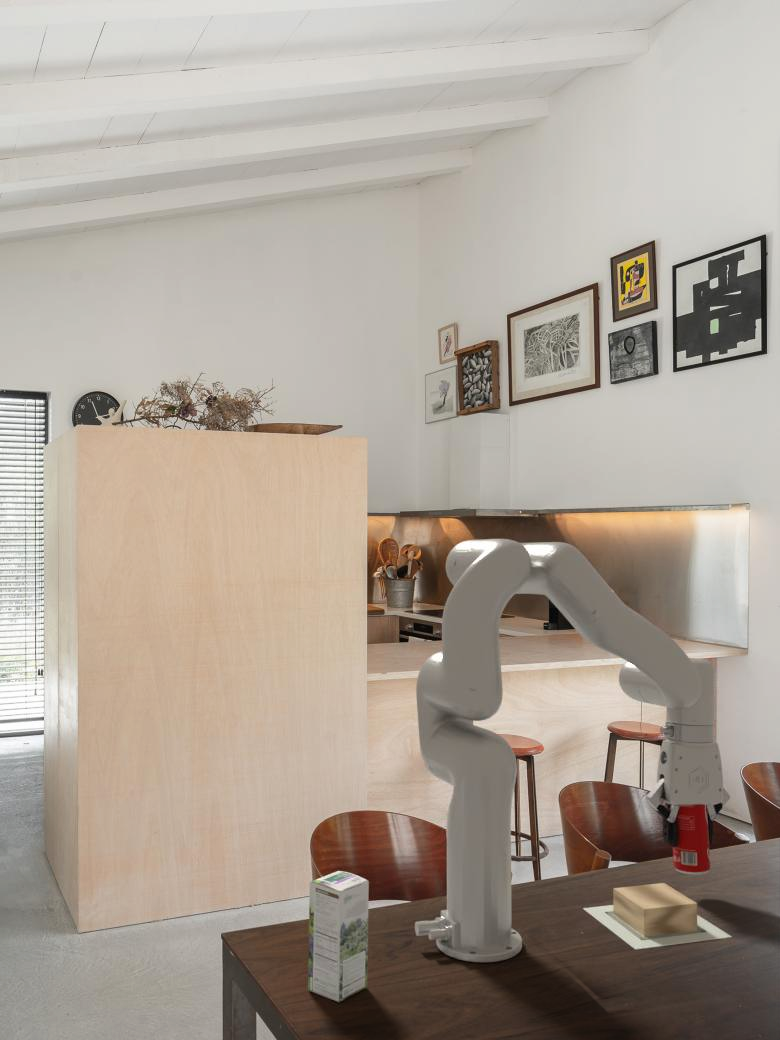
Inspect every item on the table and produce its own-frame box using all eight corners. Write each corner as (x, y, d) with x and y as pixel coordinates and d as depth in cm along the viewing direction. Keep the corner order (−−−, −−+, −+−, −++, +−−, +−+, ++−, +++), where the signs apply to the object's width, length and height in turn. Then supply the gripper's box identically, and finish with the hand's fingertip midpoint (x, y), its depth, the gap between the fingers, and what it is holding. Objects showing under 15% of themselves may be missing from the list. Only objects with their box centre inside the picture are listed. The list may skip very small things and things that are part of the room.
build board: (635, 957, 134) (635, 948, 134) (582, 915, 149) (582, 907, 149) (732, 945, 138) (731, 936, 138) (671, 905, 153) (671, 897, 153)
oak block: (644, 936, 138) (643, 909, 138) (613, 914, 147) (613, 888, 147) (697, 930, 140) (697, 903, 141) (664, 908, 149) (663, 882, 149)
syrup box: (336, 975, 128) (336, 868, 128) (369, 988, 124) (369, 877, 125) (307, 990, 123) (307, 879, 124) (340, 1004, 120) (340, 889, 120)
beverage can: (714, 877, 151) (716, 783, 152) (674, 875, 151) (676, 781, 152) (703, 865, 157) (704, 775, 158) (664, 863, 157) (666, 773, 158)
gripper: (656, 738, 149) (653, 853, 148) (748, 736, 154) (746, 848, 153) (631, 730, 157) (629, 839, 156) (720, 728, 161) (718, 835, 160)
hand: (687, 842), depth 154 cm, fingers closed on beverage can, 5 cm apart
